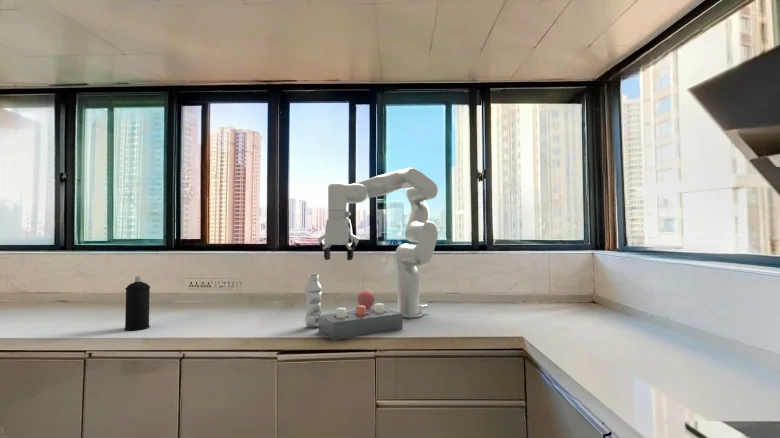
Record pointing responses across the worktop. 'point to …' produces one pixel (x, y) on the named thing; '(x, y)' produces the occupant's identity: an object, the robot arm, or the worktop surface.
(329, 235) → the robot arm
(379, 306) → the cream plug
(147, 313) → the aerosol can
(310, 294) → the plastic bottle
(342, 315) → the cream plug
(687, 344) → the worktop surface
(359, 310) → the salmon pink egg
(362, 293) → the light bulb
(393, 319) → the panel
